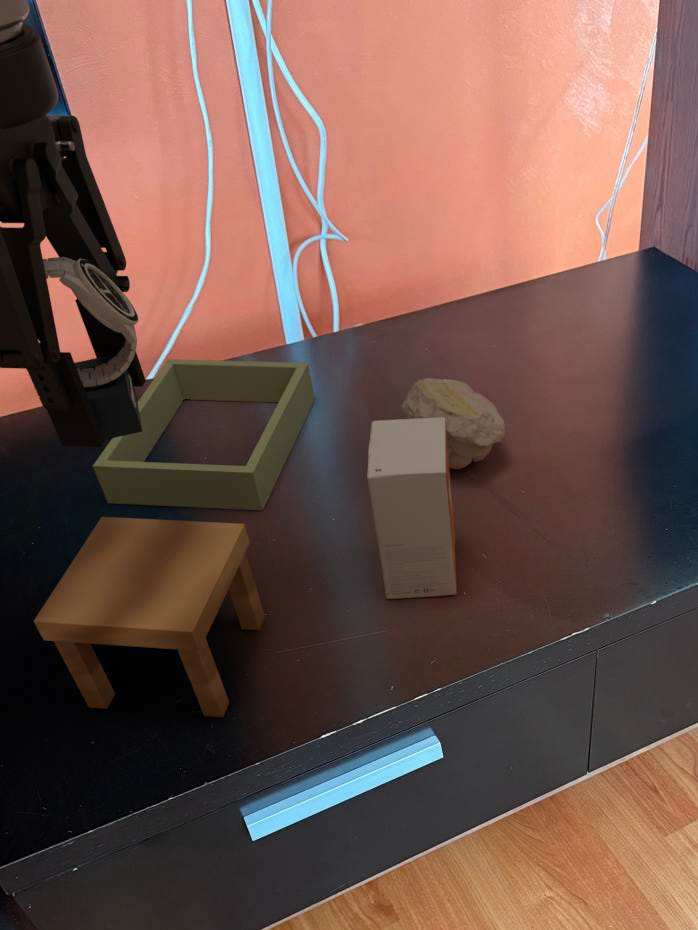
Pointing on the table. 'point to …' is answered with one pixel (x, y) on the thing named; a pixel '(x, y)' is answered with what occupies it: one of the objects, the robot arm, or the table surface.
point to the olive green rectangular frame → (203, 483)
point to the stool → (151, 599)
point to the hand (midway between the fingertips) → (105, 411)
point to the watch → (105, 374)
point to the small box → (412, 506)
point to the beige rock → (457, 417)
